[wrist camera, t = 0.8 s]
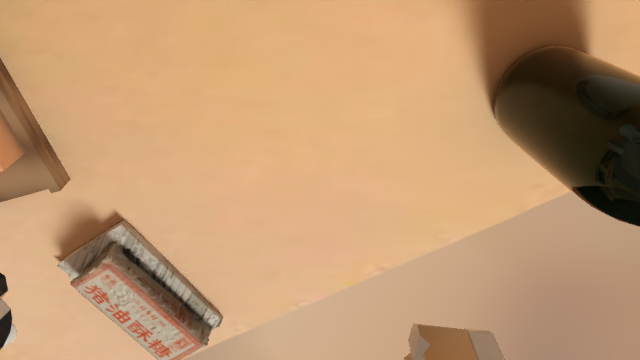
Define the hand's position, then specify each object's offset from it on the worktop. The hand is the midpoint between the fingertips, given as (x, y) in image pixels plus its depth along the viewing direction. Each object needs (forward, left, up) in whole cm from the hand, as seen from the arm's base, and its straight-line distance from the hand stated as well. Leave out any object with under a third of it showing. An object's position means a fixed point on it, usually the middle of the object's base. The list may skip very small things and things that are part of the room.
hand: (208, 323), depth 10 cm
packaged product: (+26, -24, -40) cm, 53 cm away
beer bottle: (+15, +25, -40) cm, 49 cm away
